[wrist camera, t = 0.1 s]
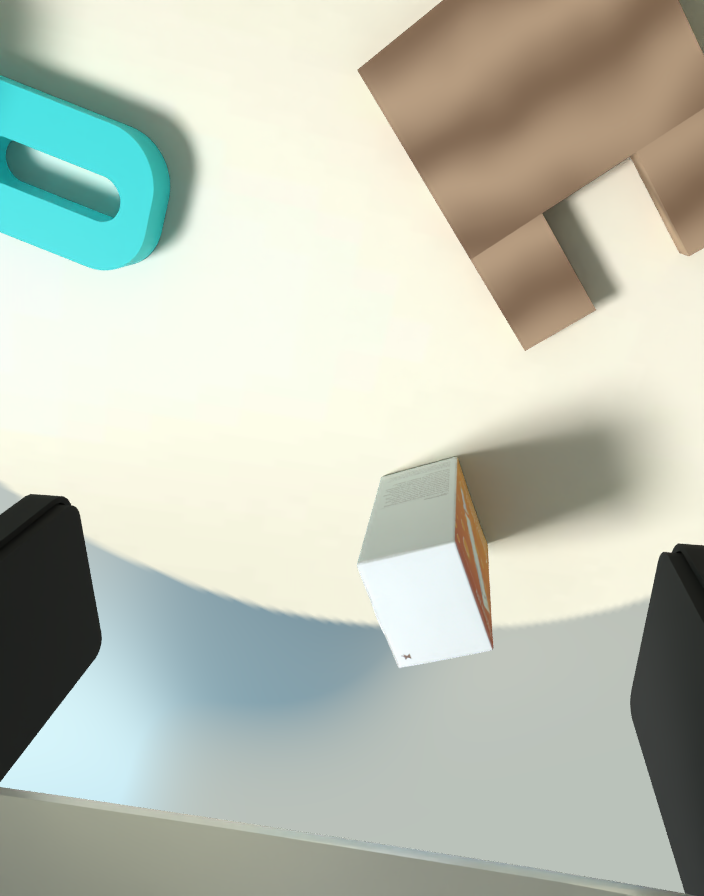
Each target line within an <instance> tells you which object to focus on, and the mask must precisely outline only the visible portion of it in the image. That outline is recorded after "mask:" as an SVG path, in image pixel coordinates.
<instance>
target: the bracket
mask: <svg viewBox="0 0 704 896" xmlns="http://www.w3.org/2000/svg"><path fill="white" fill-rule="evenodd" d="M12 140H13V141H16V142H18V143H21V144H23V145H26V146H28V147H31V148H34V149H36V150H39V151H41V152H44V153H46V154H49V155H51V156H54V157H56V158H59V159H61V160H64V161H66V162H69V163H71V164H74V165H76V166H79V167H82V168H84V169H87V170H89V171H92V172H94V173H97V174H99V175H102V176H104V177H106V178H108V179H109V180H110V181H111V182H112V183H113V184H114V185H115V186H116V188H117V190H118V192H119V196H120V208H119V211H118V213H117V215H116V216H115V217H114V218H113V217H110V216H108V215H105V214H103V213H100V212H98V211H95V210H93V209H90V208H87V207H85V206H82V205H80V204H77V203H75V202H72V201H70V200H67V199H65V198H62V197H60V196H57V195H55V194H52V193H50V192H47V191H45V190H42V189H40V188H37V187H34V186H32V185H29V184H27V183H24V182H22V181H20V180H18V179H17V178H16V177H15V176H14V175H13V174H12V173H11V171H10V169H9V167H8V165H7V161H6V150H7V147H8V145H9V144H10V142H11V141H12ZM169 195H170V178H169V172H168V168H167V165H166V163H165V160H164V158H163V156H162V154H161V152H160V151H159V149H158V148H157V146H156V145H155V144H154V143H153V142H152V141H151V139H149V138H148V137H147V136H146V135H145V134H143V133H142V132H140V131H139V130H137V129H135V128H133V127H130V126H128V125H125V124H123V123H120V122H118V121H115V120H113V119H110V118H108V117H105V116H103V115H100V114H98V113H95V112H92V111H90V110H87V109H85V108H82V107H80V106H77V105H75V104H72V103H70V102H67V101H65V100H62V99H60V98H57V97H54V96H52V95H49V94H47V93H44V92H42V91H39V90H37V89H34V88H32V87H29V86H27V85H24V84H22V83H19V82H16V81H14V80H11V79H9V78H6V77H4V76H1V75H0V232H1V233H4V234H6V235H9V236H11V237H14V238H16V239H19V240H21V241H24V242H26V243H29V244H31V245H34V246H36V247H39V248H41V249H44V250H46V251H49V252H51V253H54V254H57V255H59V256H62V257H64V258H67V259H69V260H72V261H74V262H77V263H79V264H82V265H84V266H87V267H90V268H93V269H97V270H113V269H117V268H121V267H124V266H128V265H132V264H135V263H138V262H140V261H142V260H144V259H145V258H146V257H148V256H149V255H150V254H151V253H152V252H153V250H154V249H155V247H156V246H157V244H158V242H159V239H160V236H161V233H162V228H163V224H164V219H165V215H166V210H167V205H168V201H169Z"/></svg>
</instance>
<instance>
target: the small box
mask: <svg viewBox="0 0 704 896" xmlns="http://www.w3.org/2000/svg"><path fill="white" fill-rule="evenodd" d="M357 567H358V570H359V573H360V575H361V578H362V580H363V583H364V586H365V588H366V591H367V593H368V596H369V598H370V601H371V603H372V606H373V609H374V612H375V615H376V618H377V620H378V622H379V625H380V627H381V629H382V631H383V633H384V635H385V637H386V639H387V642H388V644H389V646H390V649H391V651H392V653H393V655H394V658H395V660H396V662H397V665H398V667H399V668H402V667H406V666H412V665H418V664H424V663H429V662H434V661H439V660H445V659H450V658H455V657H460V656H465V655H471V654H476V653H480V652H485V651H491V650H493V639H492V638H493V637H492V621H491V602H490V584H489V562H488V545H487V541H486V539H485V536H484V534H483V531H482V529H481V526H480V523H479V520H478V517H477V514H476V512H475V509H474V506H473V503H472V500H471V497H470V494H469V491H468V488H467V485H466V482H465V479H464V475H463V472H462V469H461V466H460V463H459V460H458V457H452V458H449V459H445V460H442V461H438V462H434V463H431V464H427V465H424V466H420V467H416V468H412V469H408V470H405V471H401V472H398V473H394V474H391V475H387V476H383V477H381V480H380V484H379V487H378V491H377V495H376V498H375V502H374V505H373V509H372V512H371V516H370V520H369V523H368V527H367V530H366V534H365V538H364V541H363V545H362V549H361V552H360V555H359V559H358V563H357Z"/></svg>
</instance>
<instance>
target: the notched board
mask: <svg viewBox="0 0 704 896" xmlns="http://www.w3.org/2000/svg"><path fill="white" fill-rule="evenodd" d="M358 72H359V74H360V75H361V77H362V79H363V80H364V82H365V84H366V85H367V87H368V89H369V90H370V92H371V94H372V95H373V97H374V99H375V100H376V102H377V104H378V105H379V107H380V109H381V110H382V112H383V114H384V115H385V117H386V119H387V120H388V122H389V124H390V125H391V127H392V129H393V131H394V132H395V134H396V136H397V137H398V139H399V141H400V142H401V144H402V146H403V147H404V149H405V151H406V152H407V154H408V156H409V157H410V159H411V161H412V162H413V164H414V166H415V167H416V169H417V171H418V172H419V174H420V176H421V177H422V179H423V181H424V182H425V184H426V186H427V187H428V189H429V191H430V192H431V194H432V196H433V198H434V199H435V201H436V203H437V204H438V206H439V208H440V209H441V211H442V213H443V214H444V216H445V218H446V219H447V221H448V223H449V224H450V226H451V228H452V229H453V231H454V233H455V234H456V236H457V238H458V239H459V241H460V243H461V244H462V246H463V248H464V249H465V251H466V253H467V254H468V256H469V258H470V260H471V261H472V263H473V265H474V266H475V268H476V270H477V271H478V273H479V275H480V276H481V278H482V280H483V281H484V283H485V285H486V286H487V288H488V290H489V291H490V293H491V295H492V296H493V298H494V300H495V301H496V303H497V305H498V306H499V308H500V310H501V311H502V313H503V315H504V316H505V318H506V320H507V321H508V323H509V325H510V327H511V328H512V330H513V332H514V333H515V335H516V337H517V338H518V340H519V342H520V343H521V345H522V347H523V348H524V350H525V351H526V350H527V349H529V348H531V347H533V346H534V345H536V344H538V343H540V342H541V341H543V340H545V339H547V338H548V337H550V336H552V335H554V334H555V333H557V332H559V331H560V330H562V329H564V328H566V327H567V326H569V325H571V324H573V323H574V322H576V321H578V320H580V319H581V318H583V317H585V316H586V315H588V314H590V313H592V312H593V311H595V310H596V309H595V307H594V306H593V304H592V302H591V300H590V298H589V297H588V295H587V293H586V291H585V289H584V288H583V286H582V284H581V282H580V280H579V279H578V277H577V275H576V273H575V271H574V270H573V268H572V266H571V264H570V262H569V261H568V259H567V257H566V255H565V253H564V252H563V250H562V248H561V246H560V244H559V243H558V241H557V239H556V237H555V236H554V234H553V232H552V230H551V228H550V227H549V225H548V223H547V221H546V219H545V218H544V216H543V214H542V213H543V212H545V211H546V210H548V209H550V208H551V207H553V206H554V205H556V204H557V203H559V202H560V201H562V200H563V199H565V198H567V197H568V196H570V195H571V194H573V193H574V192H576V191H577V190H579V189H580V188H582V187H583V186H585V185H587V184H588V183H590V182H591V181H593V180H594V179H596V178H597V177H599V176H600V175H602V174H604V173H605V172H607V171H608V170H610V169H611V168H613V167H614V166H616V165H617V164H619V163H620V162H622V161H624V160H625V159H627V158H628V157H631V159H632V161H633V163H634V165H635V167H636V169H637V171H638V173H639V175H640V177H641V179H642V181H643V183H644V184H645V186H646V188H647V190H648V192H649V194H650V196H651V198H652V200H653V202H654V204H655V206H656V208H657V210H658V212H659V214H660V216H661V218H662V220H663V222H664V224H665V226H666V228H667V230H668V232H669V234H670V235H671V237H672V239H673V241H674V243H675V245H676V247H677V249H678V251H679V253H681V254H684V255H687V256H690V255H692V254H694V253H696V252H697V251H699V250H701V249H703V248H704V54H703V52H702V50H701V48H700V46H699V44H698V41H697V39H696V37H695V35H694V33H693V31H692V28H691V26H690V24H689V22H688V20H687V18H686V15H685V13H684V11H683V9H682V7H681V5H680V2H679V0H443V1H442V2H440V3H439V4H438V5H437V6H435V7H434V8H433V9H432V10H430V11H429V12H428V13H427V14H426V15H424V16H423V17H422V18H421V19H419V20H418V21H417V22H416V23H415V24H413V25H412V26H411V27H410V28H408V29H407V30H406V31H405V32H403V33H402V34H401V35H400V36H399V37H397V38H396V39H395V40H394V41H392V42H391V43H390V44H389V45H388V46H386V47H385V48H384V49H383V50H381V51H380V52H379V53H378V54H376V55H375V56H374V57H373V58H372V59H370V60H369V61H368V62H367V63H365V64H364V65H363V66H362V67H360V68H359V69H358Z"/></svg>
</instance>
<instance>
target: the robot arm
mask: <svg viewBox="0 0 704 896" xmlns="http://www.w3.org/2000/svg"><path fill="white" fill-rule="evenodd" d="M101 640H102V637H101V629H100V623H99V618H98V612H97V607H96V601H95V596H94V591H93V585H92V579H91V574H90V568H89V563H88V557H87V552H86V546H85V541H84V535H83V530H82V524H81V519H80V514H79V511H78V509H77V508H76V507H75V506H71V503H70V502H69V500H68V499H67V498H65V497H63V496H50V495H37V494H30V495H28V496H25V497H24V498H23V499H21V500H20V501H18V502H17V503H16V504H14V505H13V506H12V507H10V508H9V509H8V510H6V511H5V512H4V513H2V514H1V515H0V782H1V780H2V779H3V778H4V776H5V775H6V774H7V772H8V771H9V770H10V768H11V767H12V766H13V764H14V763H15V762H16V761H17V759H18V758H19V757H20V756H21V754H22V753H23V752H24V750H25V749H26V748H27V746H28V745H29V744H30V743H31V741H32V740H33V739H34V737H35V736H36V735H37V733H38V732H39V731H40V730H41V728H42V727H43V726H44V724H45V723H46V722H47V720H48V719H49V718H50V716H51V715H52V714H53V712H54V711H55V710H56V709H57V707H58V706H59V705H60V704H61V702H62V701H63V700H64V698H65V697H66V696H67V694H68V693H69V692H70V691H71V689H72V688H73V687H74V685H75V684H76V683H77V681H78V680H79V679H80V677H81V676H82V675H83V674H84V672H85V671H86V669H87V668H88V667H89V666H90V664H91V663H92V662H93V661H94V659H95V658H96V656H97V655H98V652H99V650H100V646H101ZM630 705H631V715H632V720H633V723H634V727H635V730H636V733H637V736H638V740H639V743H640V746H641V750H642V753H643V756H644V759H645V763H646V766H647V769H648V772H649V776H650V779H651V782H652V786H653V789H654V792H655V795H656V799H657V802H658V805H659V808H660V812H661V815H662V819H663V822H664V825H665V828H666V832H667V835H668V838H669V842H670V845H671V848H672V851H673V854H674V858H675V861H676V864H677V868H678V871H679V874H680V878H681V881H682V884H683V888H684V891H685V894H684V893H678V892H673V891H667V890H662V889H656V888H650V887H645V886H639V885H633V884H627V883H621V882H615V881H609V880H603V879H597V878H591V877H585V876H580V875H574V874H568V873H562V872H556V871H551V870H544V869H538V868H532V867H526V866H520V865H513V864H507V863H500V862H494V861H487V860H481V859H475V858H469V857H462V856H456V855H449V854H443V853H436V852H430V851H424V850H417V849H410V848H404V847H398V846H391V845H385V844H378V843H372V842H366V841H359V840H352V839H346V838H340V837H334V836H327V835H321V834H314V833H307V832H301V831H294V830H288V829H281V828H274V827H268V826H261V825H254V824H248V823H241V822H234V821H228V820H221V819H214V818H208V817H201V816H194V815H188V814H180V813H174V812H168V811H161V810H154V809H147V808H141V807H133V806H127V805H120V804H113V803H107V802H100V801H93V800H87V799H80V798H73V797H66V796H58V795H52V794H45V793H37V792H31V791H23V790H16V789H10V788H2V787H0V896H704V546H703V545H690V544H677V545H676V546H675V547H674V549H673V551H672V553H669V552H663V553H662V554H661V555H660V557H659V560H658V564H657V569H656V574H655V579H654V584H653V589H652V594H651V598H650V603H649V608H648V613H647V618H646V623H645V628H644V633H643V637H642V642H641V647H640V652H639V657H638V661H637V666H636V671H635V676H634V681H633V686H632V691H631V699H630Z"/></svg>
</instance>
